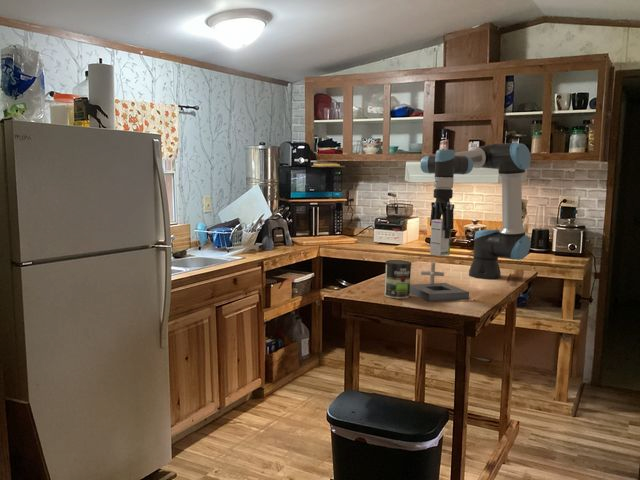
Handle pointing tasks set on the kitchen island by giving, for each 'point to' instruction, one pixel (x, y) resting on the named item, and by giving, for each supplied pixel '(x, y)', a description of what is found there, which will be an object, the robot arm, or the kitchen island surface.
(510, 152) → the robot arm
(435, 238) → the syrup box
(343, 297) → the kitchen island surface
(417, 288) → the square hole plate
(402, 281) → the coffee can
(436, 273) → the pipe connector
